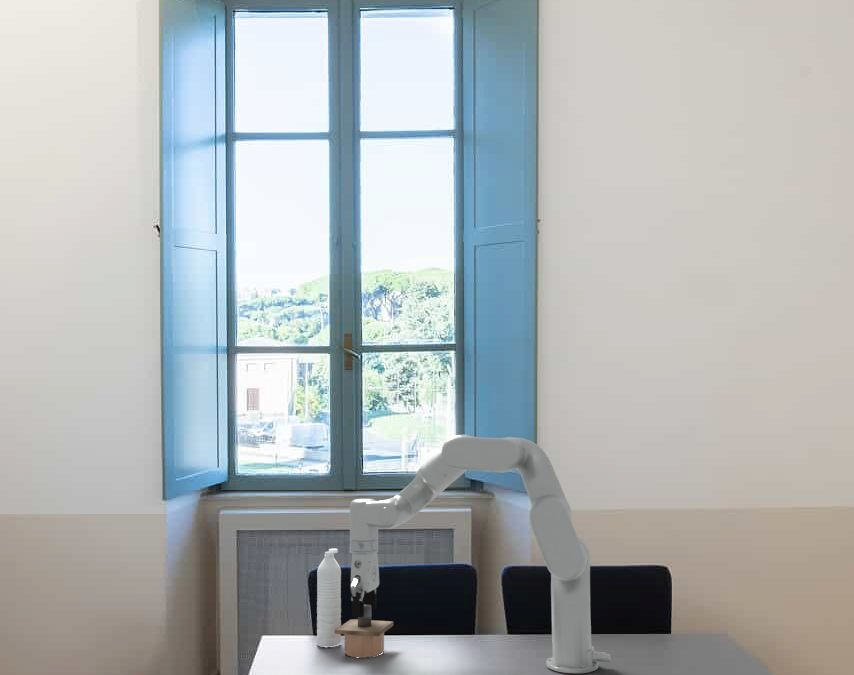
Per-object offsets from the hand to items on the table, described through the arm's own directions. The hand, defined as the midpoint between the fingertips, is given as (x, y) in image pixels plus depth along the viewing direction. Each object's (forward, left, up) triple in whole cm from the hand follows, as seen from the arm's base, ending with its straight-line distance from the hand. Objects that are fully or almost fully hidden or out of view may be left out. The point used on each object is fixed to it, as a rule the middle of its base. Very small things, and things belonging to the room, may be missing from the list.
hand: (364, 612), depth 221 cm
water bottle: (+12, -6, -10) cm, 17 cm away
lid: (0, 0, -4) cm, 4 cm away
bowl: (0, 0, -10) cm, 10 cm away
